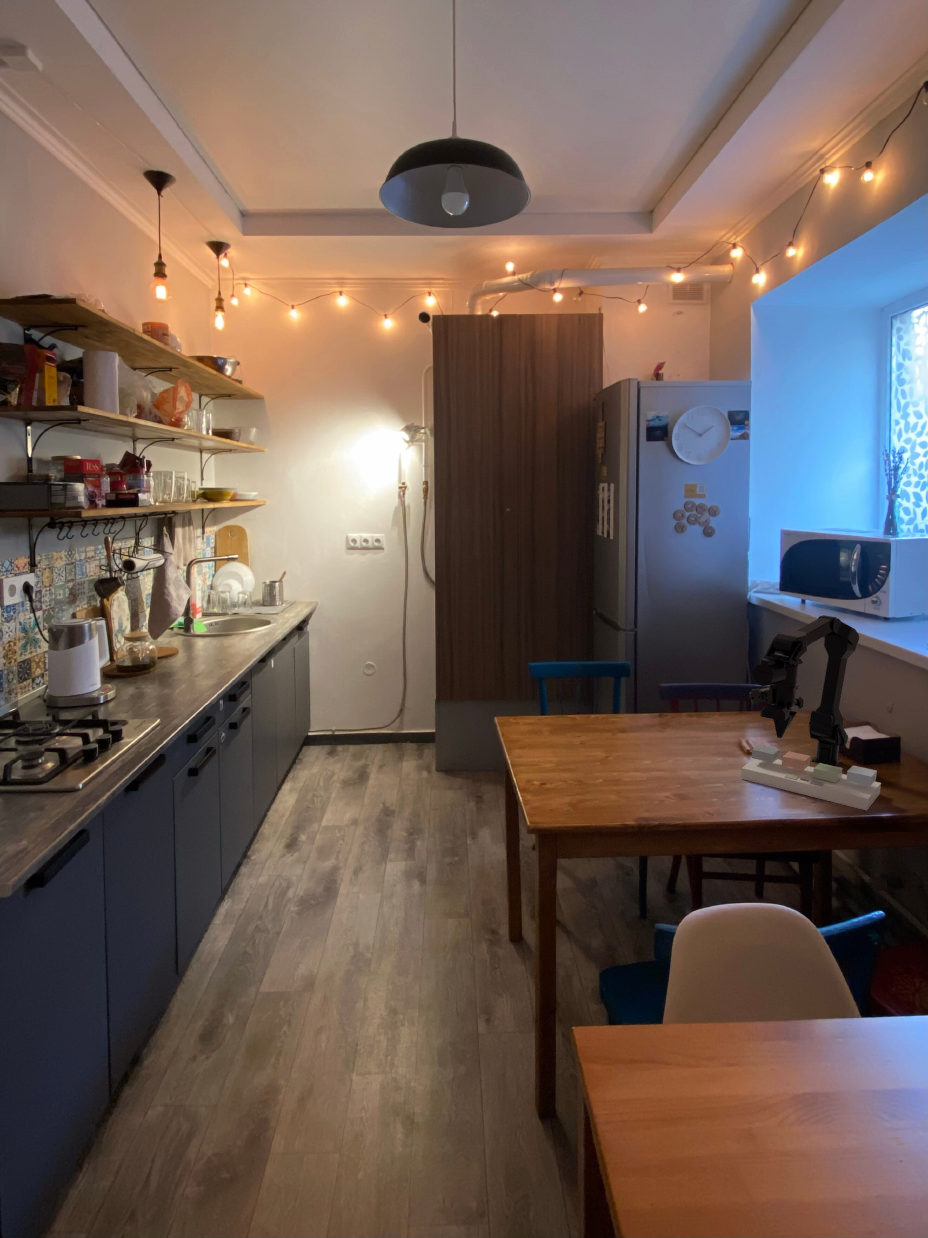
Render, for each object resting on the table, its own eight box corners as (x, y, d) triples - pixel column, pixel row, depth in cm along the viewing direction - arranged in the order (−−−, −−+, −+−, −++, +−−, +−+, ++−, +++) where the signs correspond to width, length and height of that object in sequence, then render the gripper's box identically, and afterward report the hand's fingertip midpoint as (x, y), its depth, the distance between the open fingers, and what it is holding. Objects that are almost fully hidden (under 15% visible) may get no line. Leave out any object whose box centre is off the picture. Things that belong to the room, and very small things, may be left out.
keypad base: (758, 765, 219) (759, 754, 219) (879, 794, 200) (881, 782, 199) (740, 778, 209) (741, 767, 208) (866, 810, 189) (868, 798, 189)
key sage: (818, 771, 206) (819, 763, 205) (841, 776, 202) (842, 768, 202) (812, 777, 202) (813, 768, 201) (835, 782, 198) (836, 773, 198)
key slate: (758, 752, 216) (759, 744, 215) (779, 757, 212) (780, 749, 212) (751, 758, 211) (752, 749, 211) (772, 762, 208) (773, 754, 207)
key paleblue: (852, 774, 201) (853, 765, 200) (875, 779, 197) (876, 770, 197) (846, 780, 196) (847, 771, 196) (870, 786, 193) (871, 776, 192)
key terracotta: (788, 759, 211) (789, 751, 210) (809, 764, 207) (810, 756, 207) (781, 765, 206) (782, 756, 206) (803, 770, 203) (804, 761, 202)
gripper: (764, 670, 218) (759, 724, 220) (743, 682, 203) (738, 739, 206) (806, 677, 211) (800, 732, 214) (787, 689, 197) (781, 748, 199)
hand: (779, 737), depth 208 cm, fingers closed
